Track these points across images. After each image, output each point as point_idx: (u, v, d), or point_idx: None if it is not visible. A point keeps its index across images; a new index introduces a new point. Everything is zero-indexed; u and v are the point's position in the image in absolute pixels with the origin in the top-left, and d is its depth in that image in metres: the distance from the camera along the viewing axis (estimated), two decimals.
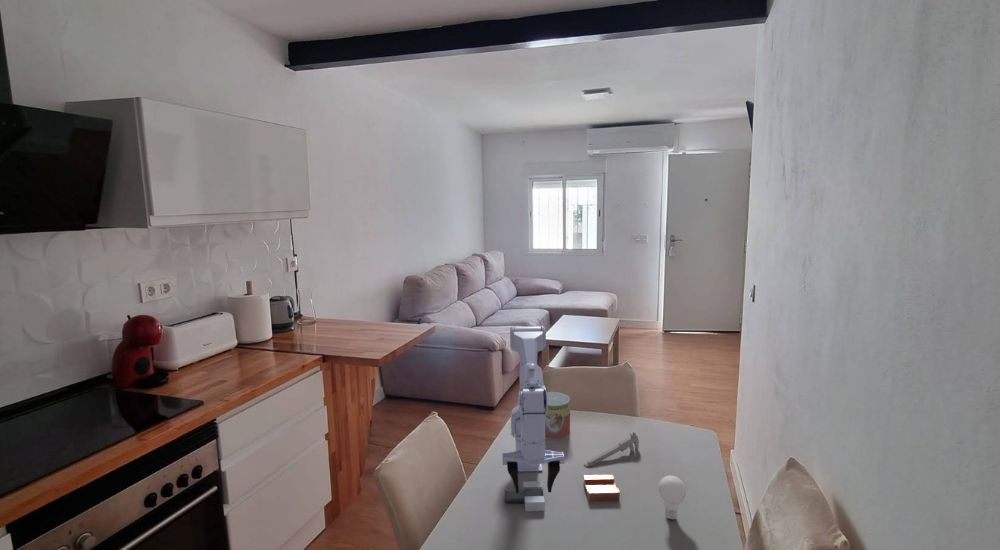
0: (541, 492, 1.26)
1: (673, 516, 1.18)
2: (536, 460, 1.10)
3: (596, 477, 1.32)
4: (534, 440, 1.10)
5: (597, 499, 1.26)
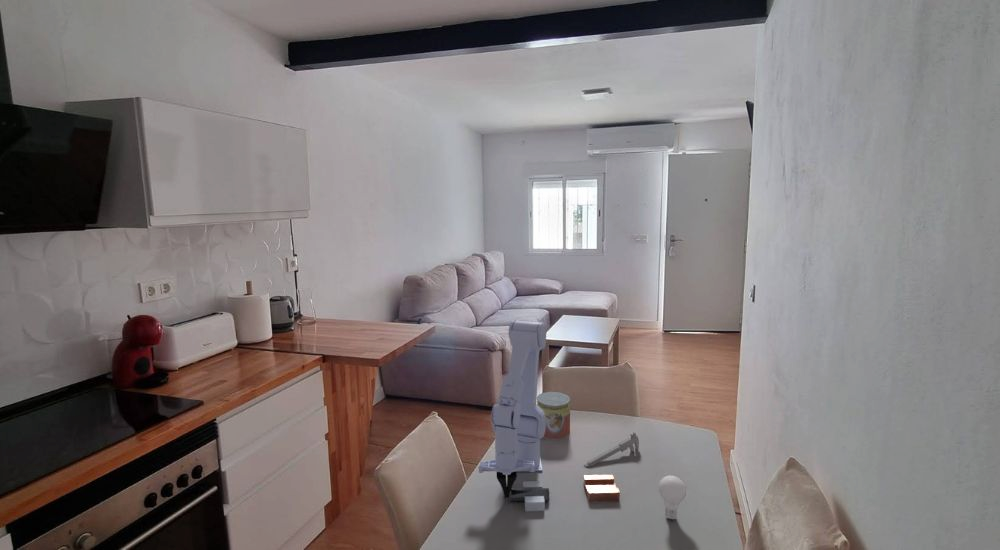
0: (547, 490, 1.26)
1: (673, 516, 1.18)
2: (508, 469, 1.22)
3: (596, 477, 1.32)
4: (502, 450, 1.22)
5: (597, 499, 1.26)
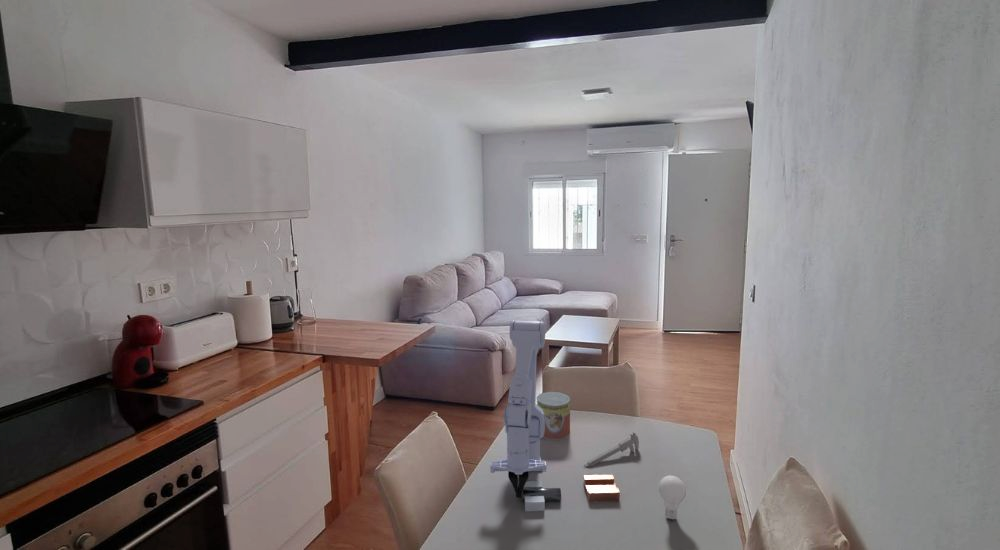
0: (558, 490, 1.26)
1: (673, 516, 1.18)
2: (520, 468, 1.22)
3: (596, 477, 1.32)
4: (516, 450, 1.21)
5: (597, 499, 1.26)
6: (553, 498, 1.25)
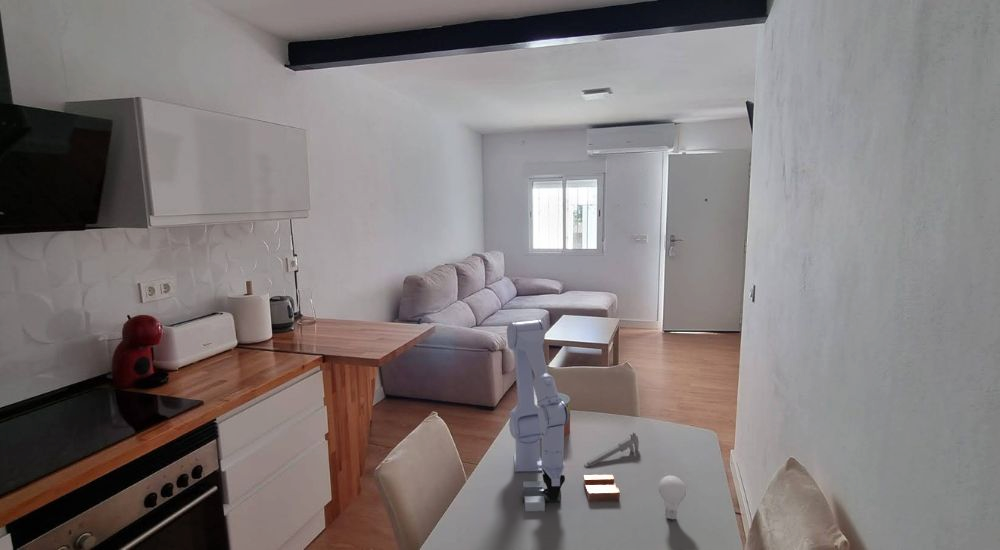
0: None
1: (673, 516, 1.18)
2: (542, 463, 1.25)
3: (596, 477, 1.32)
4: (557, 449, 1.22)
5: (597, 499, 1.26)
6: None
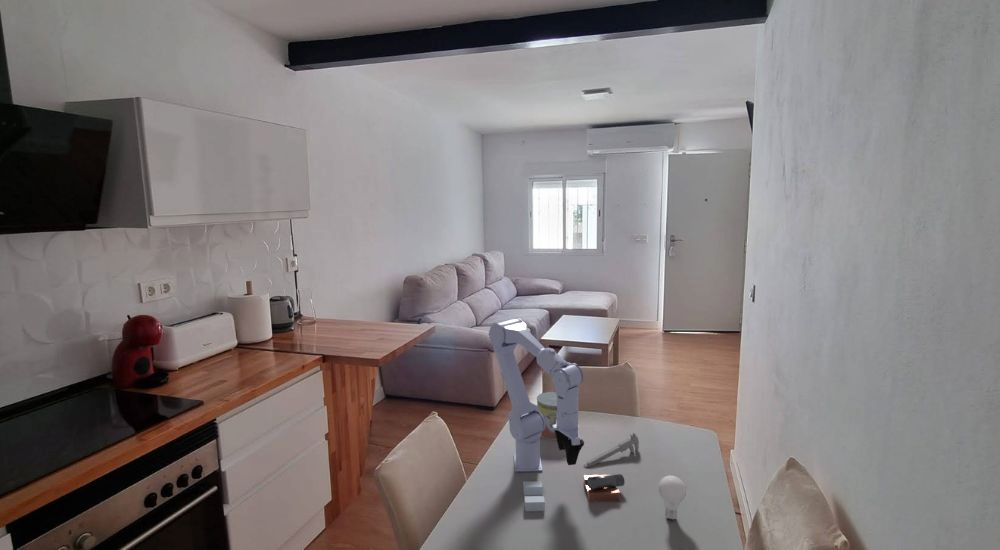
0: (620, 475, 1.30)
1: (673, 516, 1.18)
2: (557, 426, 1.28)
3: None
4: (576, 410, 1.26)
5: (597, 499, 1.26)
6: (618, 483, 1.28)
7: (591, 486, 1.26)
